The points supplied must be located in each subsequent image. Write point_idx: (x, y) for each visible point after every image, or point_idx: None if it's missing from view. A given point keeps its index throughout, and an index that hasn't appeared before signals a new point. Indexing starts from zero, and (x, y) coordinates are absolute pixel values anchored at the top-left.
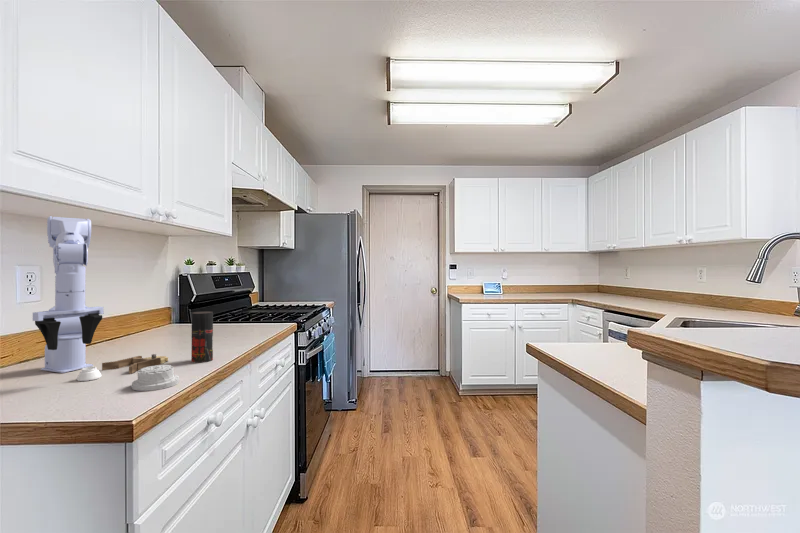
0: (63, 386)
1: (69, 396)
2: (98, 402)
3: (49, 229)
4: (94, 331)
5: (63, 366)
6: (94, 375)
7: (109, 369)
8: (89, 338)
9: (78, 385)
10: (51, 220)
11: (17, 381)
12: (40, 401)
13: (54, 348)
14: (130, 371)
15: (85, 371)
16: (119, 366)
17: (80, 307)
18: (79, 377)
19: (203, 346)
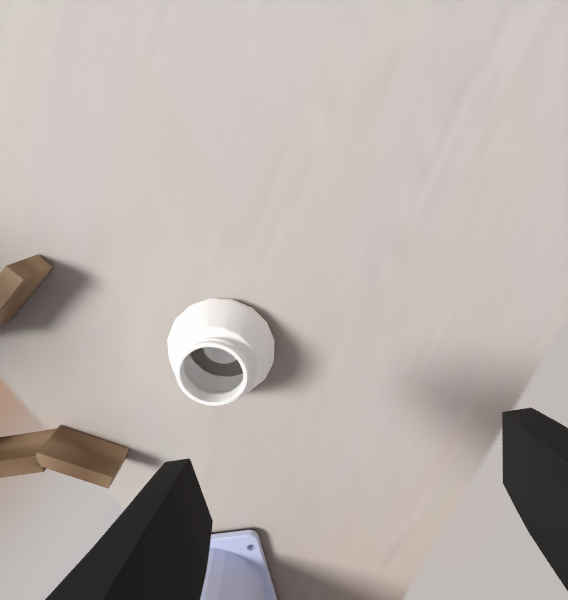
0: (352, 303)
1: (440, 42)
2: None
3: None
4: (58, 587)
5: (240, 573)
6: (210, 309)
7: (98, 438)
8: (163, 499)
9: (306, 256)
10: None
11: (402, 541)
12: (556, 86)
13: (537, 416)
14: (37, 264)
15: (240, 351)
16: (50, 434)
17: None
18: (268, 345)
19: None
